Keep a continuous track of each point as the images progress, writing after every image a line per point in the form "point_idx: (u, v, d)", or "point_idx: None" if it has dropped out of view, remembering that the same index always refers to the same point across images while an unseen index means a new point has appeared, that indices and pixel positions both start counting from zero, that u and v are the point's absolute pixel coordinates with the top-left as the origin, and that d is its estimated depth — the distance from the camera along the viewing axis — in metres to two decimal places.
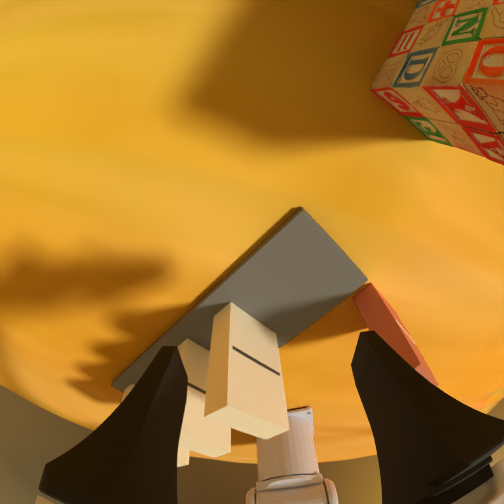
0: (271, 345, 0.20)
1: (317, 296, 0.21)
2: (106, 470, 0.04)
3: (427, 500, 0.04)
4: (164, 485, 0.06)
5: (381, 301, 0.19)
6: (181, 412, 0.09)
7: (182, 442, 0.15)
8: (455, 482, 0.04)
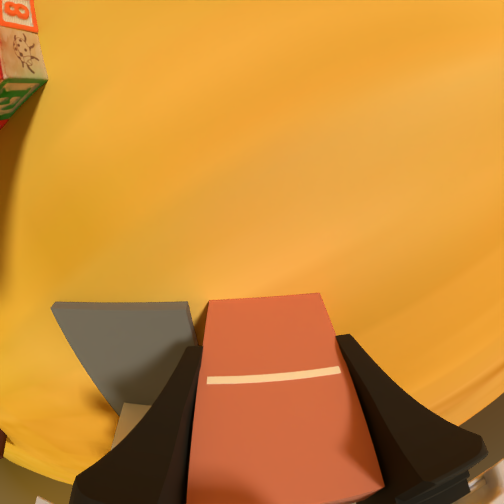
0: None
1: (164, 363, 0.13)
2: (145, 479, 0.04)
3: None
4: None
5: None
6: None
7: None
8: (425, 497, 0.04)
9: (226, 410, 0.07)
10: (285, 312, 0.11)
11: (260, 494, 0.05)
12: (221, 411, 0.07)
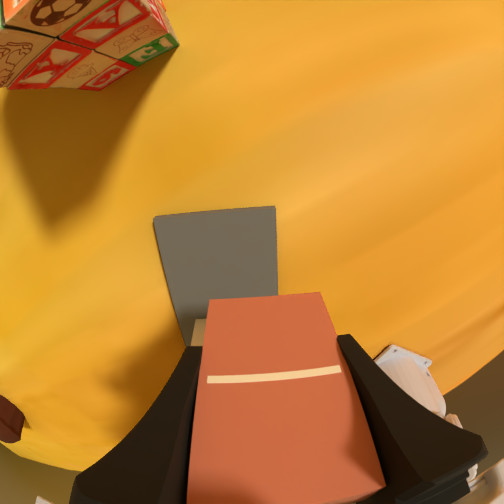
0: None
1: (248, 262, 0.19)
2: (145, 479, 0.04)
3: None
4: None
5: None
6: None
7: None
8: (425, 497, 0.04)
9: (226, 409, 0.07)
10: (285, 311, 0.11)
11: (261, 494, 0.05)
12: (221, 410, 0.07)
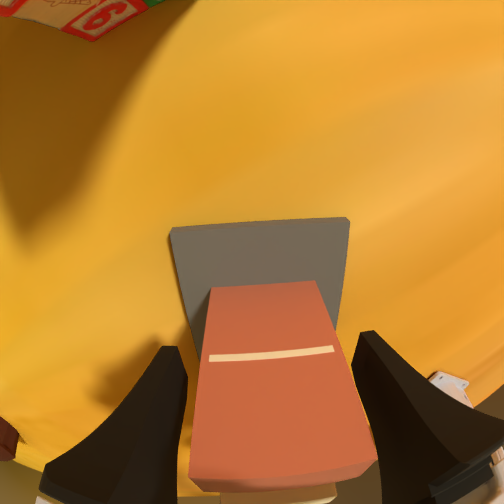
0: None
1: None
2: (106, 470, 0.04)
3: (427, 500, 0.04)
4: (164, 485, 0.06)
5: None
6: (181, 412, 0.09)
7: None
8: (455, 482, 0.04)
9: (227, 384, 0.08)
10: (282, 297, 0.12)
11: (259, 462, 0.06)
12: (222, 385, 0.08)
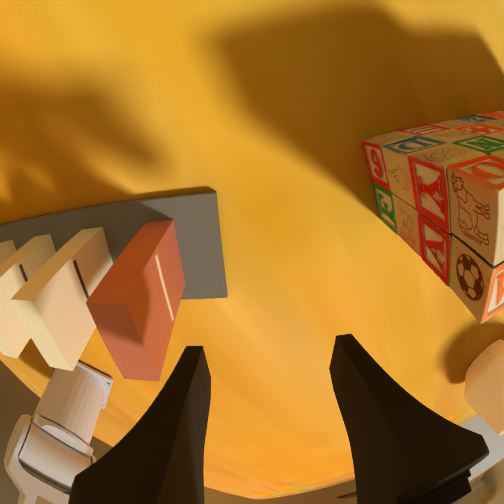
0: None
1: None
2: (144, 479, 0.04)
3: None
4: (194, 488, 0.06)
5: (162, 234, 0.16)
6: (206, 413, 0.09)
7: None
8: (427, 497, 0.04)
9: (153, 278, 0.13)
10: (178, 271, 0.18)
11: (142, 329, 0.11)
12: (152, 276, 0.13)
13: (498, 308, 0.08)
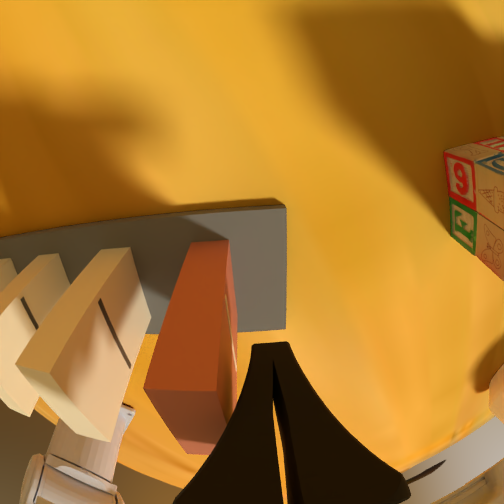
0: (139, 327, 0.15)
1: None
2: (259, 486, 0.04)
3: None
4: None
5: (223, 263, 0.12)
6: None
7: None
8: None
9: (226, 331, 0.10)
10: (234, 304, 0.15)
11: (227, 410, 0.08)
12: (225, 329, 0.10)
13: None
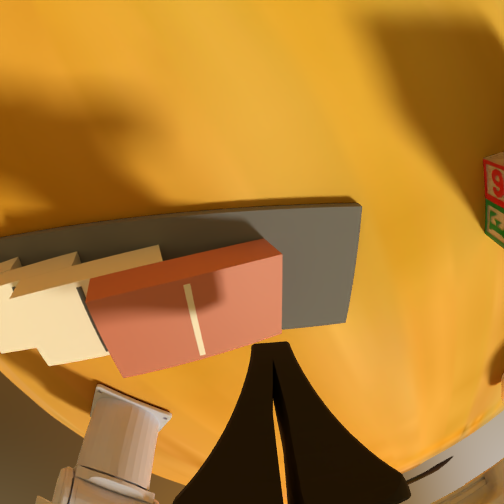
0: None
1: (292, 304, 0.16)
2: (259, 486, 0.04)
3: None
4: None
5: (230, 265, 0.12)
6: None
7: None
8: None
9: (162, 304, 0.11)
10: (261, 316, 0.14)
11: (109, 333, 0.11)
12: (161, 301, 0.11)
13: None
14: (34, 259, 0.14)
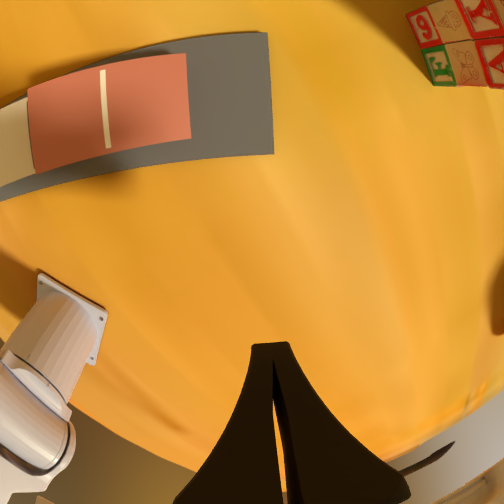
0: None
1: (210, 126, 0.15)
2: (259, 486, 0.04)
3: None
4: None
5: (140, 58, 0.11)
6: None
7: None
8: None
9: (80, 87, 0.10)
10: (167, 110, 0.13)
11: (35, 117, 0.10)
12: (80, 84, 0.10)
13: None
14: None
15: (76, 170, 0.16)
